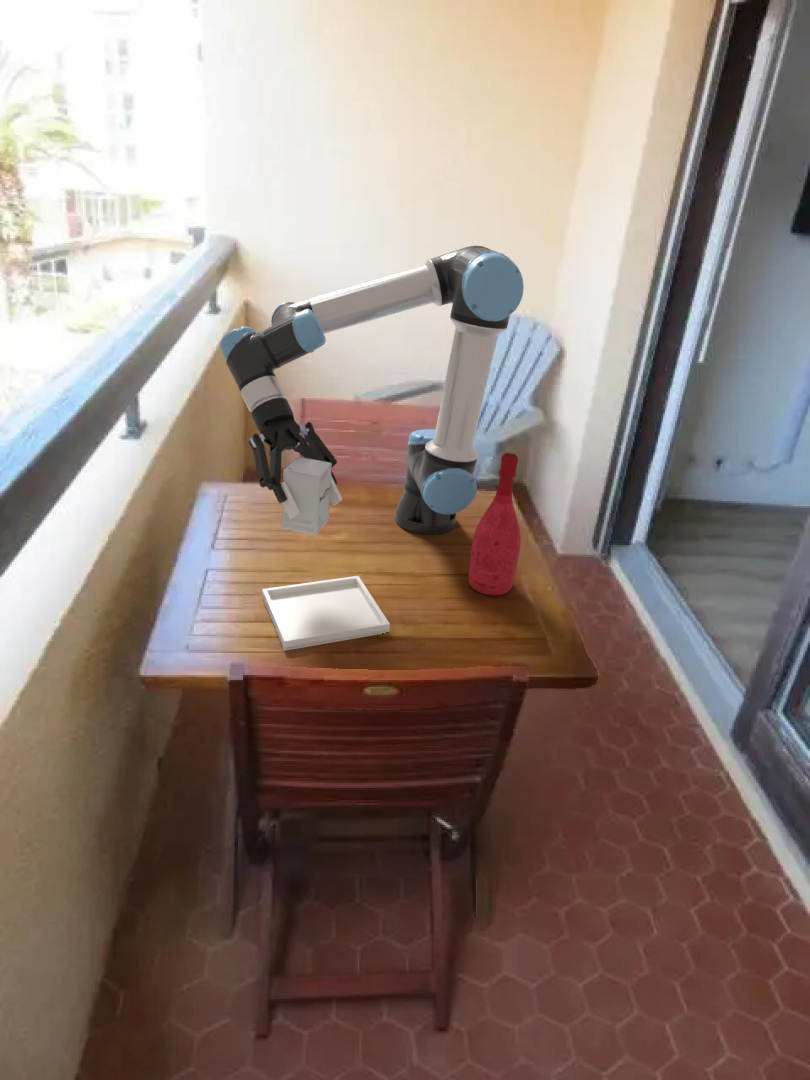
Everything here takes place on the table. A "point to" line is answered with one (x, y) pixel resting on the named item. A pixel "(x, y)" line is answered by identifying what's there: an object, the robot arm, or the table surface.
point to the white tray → (323, 612)
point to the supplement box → (308, 494)
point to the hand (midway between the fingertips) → (316, 509)
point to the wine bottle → (497, 538)
